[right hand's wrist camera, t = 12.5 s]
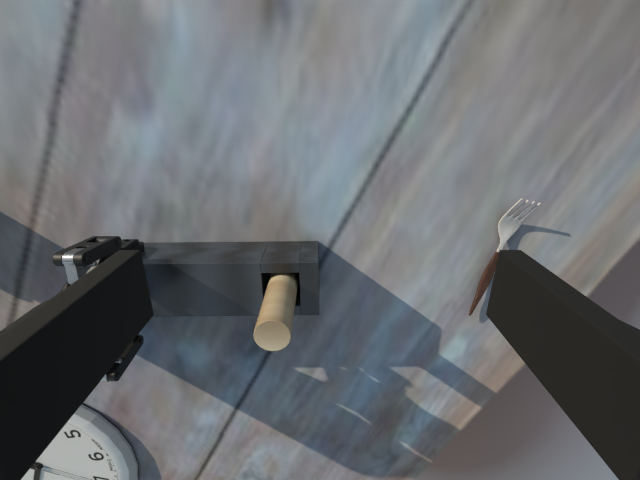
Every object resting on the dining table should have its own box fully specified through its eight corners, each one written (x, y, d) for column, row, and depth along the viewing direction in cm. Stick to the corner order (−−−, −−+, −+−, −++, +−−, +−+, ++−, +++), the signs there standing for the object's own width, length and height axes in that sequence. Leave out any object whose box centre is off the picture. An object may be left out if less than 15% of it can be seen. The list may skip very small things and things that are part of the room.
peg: (300, 276, 43) (291, 351, 29) (274, 276, 43) (254, 351, 29) (299, 253, 41) (290, 320, 28) (273, 253, 41) (252, 320, 28)
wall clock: (161, 518, 57) (-2, 540, 59) (166, 507, 58) (6, 529, 60) (80, 380, 46) (-116, 413, 48) (88, 371, 48) (-103, 404, 50)
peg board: (318, 241, 41) (318, 262, 35) (319, 288, 43) (319, 315, 38) (118, 242, 41) (86, 264, 35) (129, 289, 43) (101, 316, 38)
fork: (458, 311, 44) (464, 320, 42) (510, 193, 39) (520, 198, 37) (477, 315, 44) (484, 324, 42) (532, 198, 39) (542, 203, 37)
